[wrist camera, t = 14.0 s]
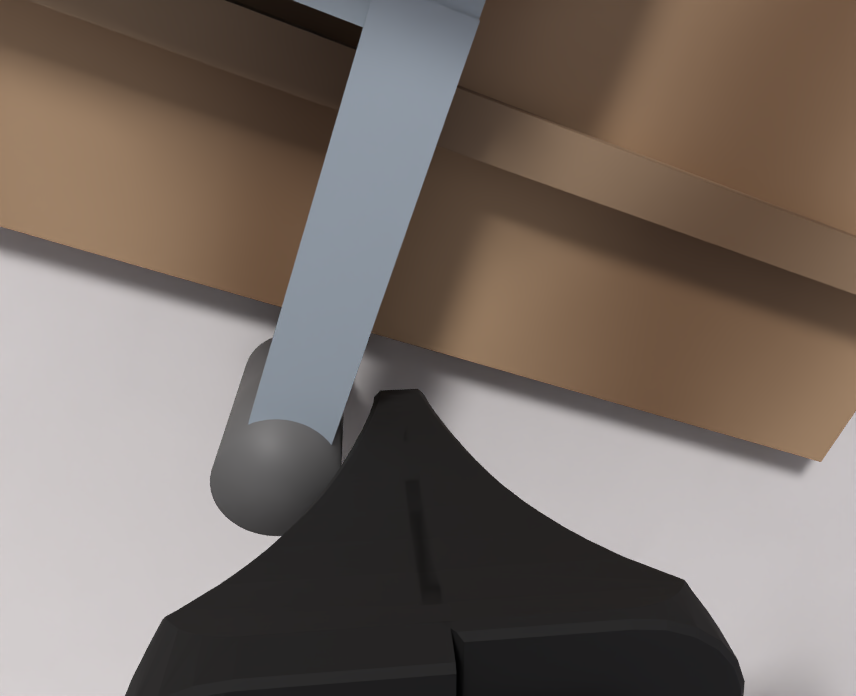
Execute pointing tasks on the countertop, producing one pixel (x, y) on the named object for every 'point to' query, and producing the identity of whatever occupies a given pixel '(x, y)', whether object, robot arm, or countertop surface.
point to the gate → (342, 258)
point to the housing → (490, 184)
